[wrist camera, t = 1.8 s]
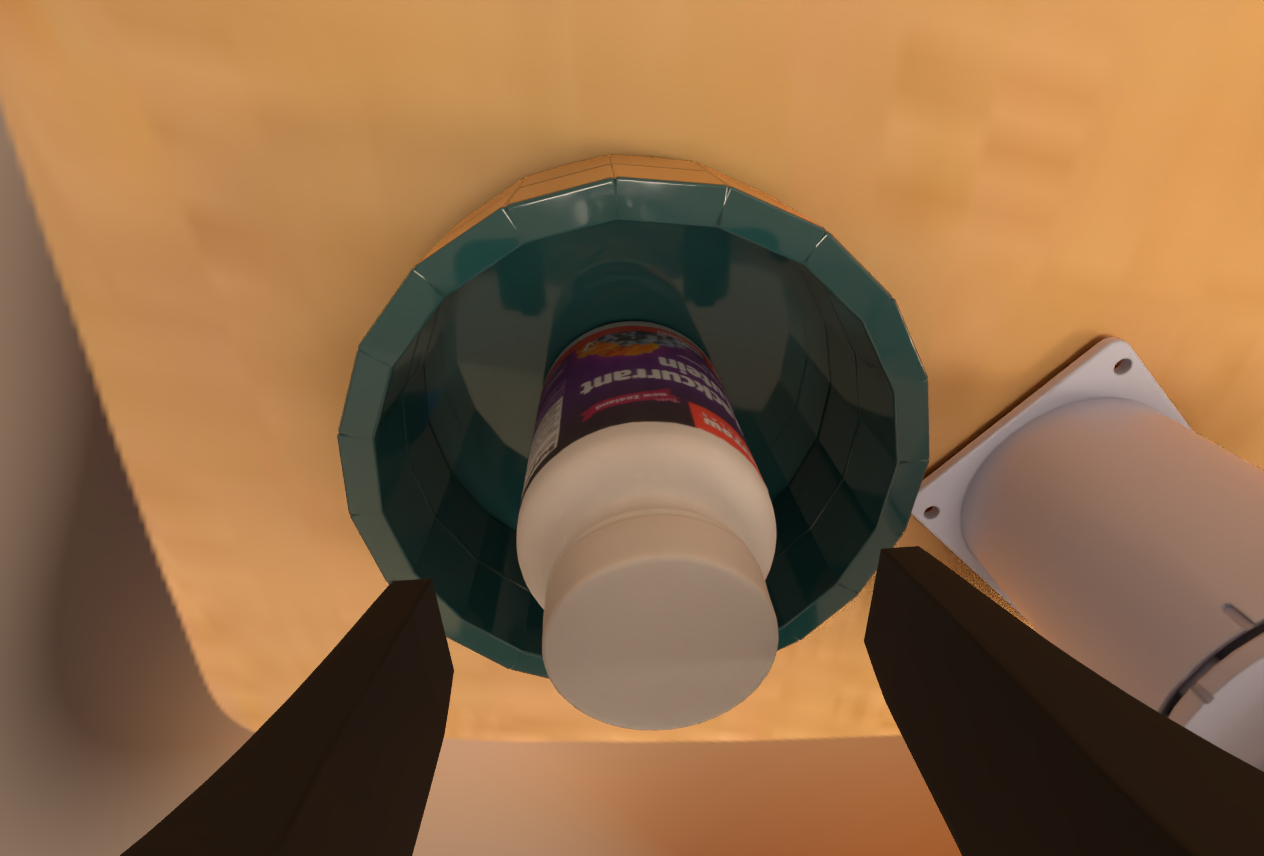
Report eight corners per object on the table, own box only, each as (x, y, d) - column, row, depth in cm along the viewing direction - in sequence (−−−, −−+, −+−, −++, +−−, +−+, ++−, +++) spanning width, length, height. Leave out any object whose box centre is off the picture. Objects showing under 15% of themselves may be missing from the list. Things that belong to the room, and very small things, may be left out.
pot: (906, 177, 17) (1017, 208, 12) (801, 576, 23) (851, 690, 19) (376, 133, 16) (292, 150, 11) (418, 566, 22) (374, 686, 18)
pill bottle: (746, 343, 18) (881, 563, 10) (685, 493, 21) (750, 777, 12) (565, 291, 17) (539, 486, 9) (521, 455, 20) (467, 735, 11)
